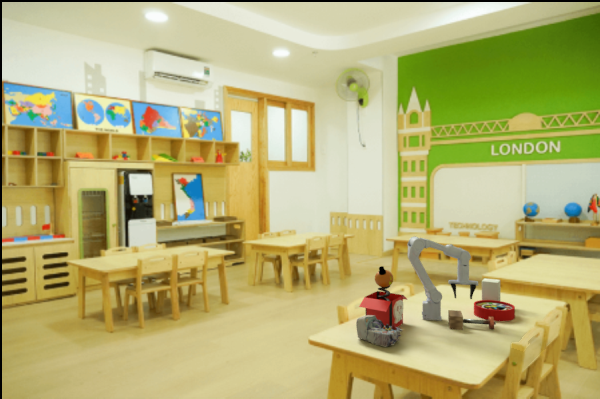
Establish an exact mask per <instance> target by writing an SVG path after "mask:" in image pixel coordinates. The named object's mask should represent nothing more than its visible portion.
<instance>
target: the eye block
mask: <svg viewBox="0 0 600 399" xmlns="http://www.w3.org/2000/svg"><path fill="white" fill-rule="evenodd" d="M447 316H448V317H447V320H448V321H447V322H448V327H449V329H450V330H456V331H457V330H458V331H463V330H464V323H463V319H464V316H463V313H462V311H461V310H453V309H451V310H450V309H448V315H447Z"/></svg>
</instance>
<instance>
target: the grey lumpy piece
mask: <svg viewBox="0 0 600 399" xmlns="http://www.w3.org/2000/svg"><path fill="white" fill-rule="evenodd" d="M355 325H356V333H357V338H358V339H360V340H364V341H366V342H368V343H370V342H371V343H370V344H372V343H373V344H372V345H375V344H376V346H379V345H380V346H381V347H384V348H387V347H390V346H395V344H396V342H397V341H399V342H400V338H399V337H402V334H401V332H403V329H402V328H400V327H396V326H395V325H394V324H392V326H389V324H386V326H384V324H383V323H382V321H380V320H377V318H376V316H375V315H366V314H365V315H363V316H361V317H358V318H357V319H356V324H355ZM380 346H379V347H380Z"/></svg>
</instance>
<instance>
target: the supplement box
mask: <svg viewBox="0 0 600 399" xmlns="http://www.w3.org/2000/svg"><path fill="white" fill-rule="evenodd" d="M481 300H495V301H501V279H496V278H485V277H484V278H483V279H482V280H481Z"/></svg>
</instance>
